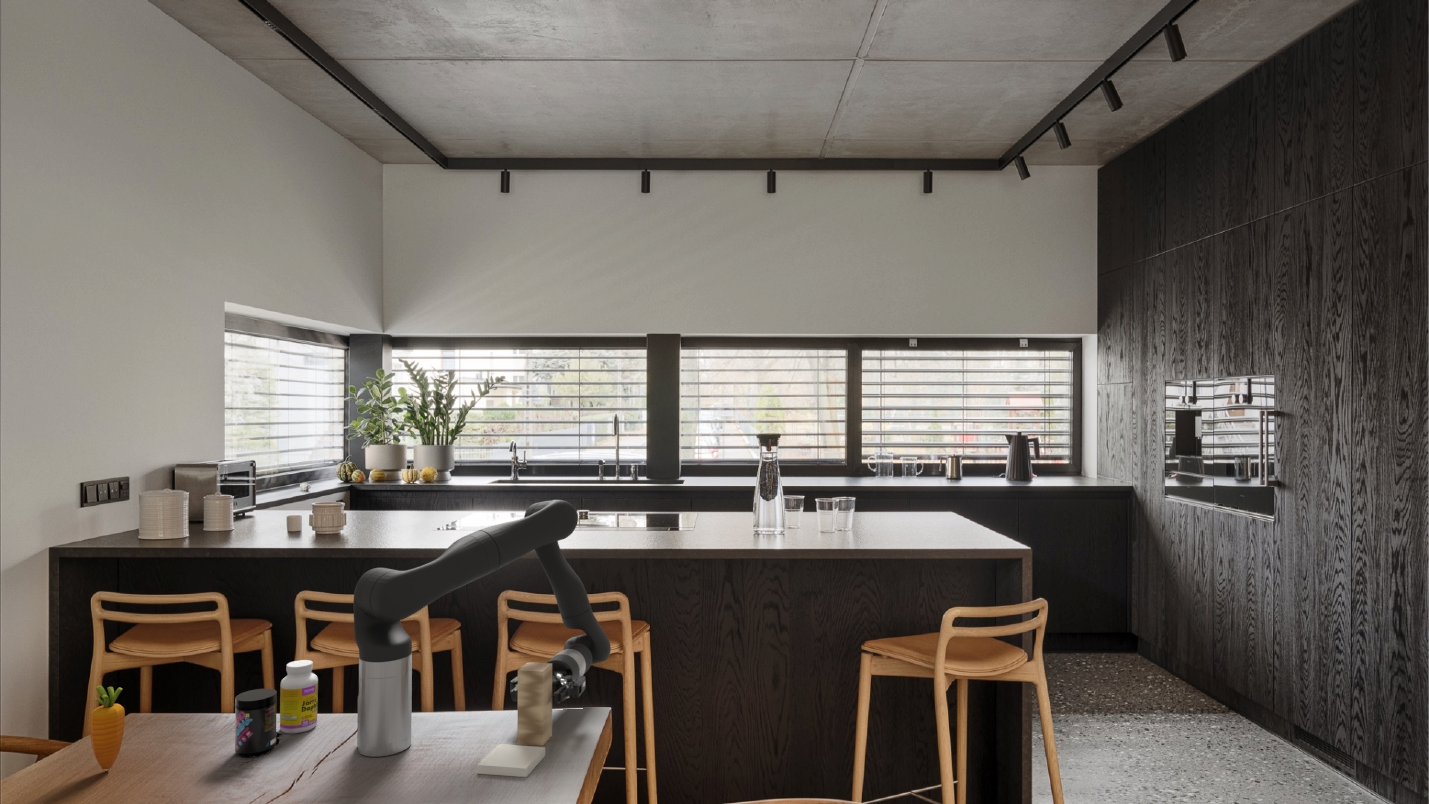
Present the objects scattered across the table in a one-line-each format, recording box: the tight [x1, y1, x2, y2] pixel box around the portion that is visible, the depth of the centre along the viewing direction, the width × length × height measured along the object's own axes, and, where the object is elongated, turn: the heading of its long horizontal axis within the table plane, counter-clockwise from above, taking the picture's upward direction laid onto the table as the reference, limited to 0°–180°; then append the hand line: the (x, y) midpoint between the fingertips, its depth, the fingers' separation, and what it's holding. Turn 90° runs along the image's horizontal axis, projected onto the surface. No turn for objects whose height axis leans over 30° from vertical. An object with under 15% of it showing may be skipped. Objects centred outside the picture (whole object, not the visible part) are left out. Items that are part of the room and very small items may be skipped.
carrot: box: [89, 685, 126, 770], centre depth 141 cm, size 5×5×15 cm
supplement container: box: [234, 688, 278, 758], centre depth 150 cm, size 7×7×10 cm
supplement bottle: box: [279, 659, 319, 734], centre depth 161 cm, size 7×7×13 cm
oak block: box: [516, 661, 553, 747], centre depth 155 cm, size 5×5×14 cm
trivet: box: [476, 743, 546, 778], centre depth 144 cm, size 9×9×2 cm
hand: (535, 697), depth 155 cm, fingers open, 8 cm apart
